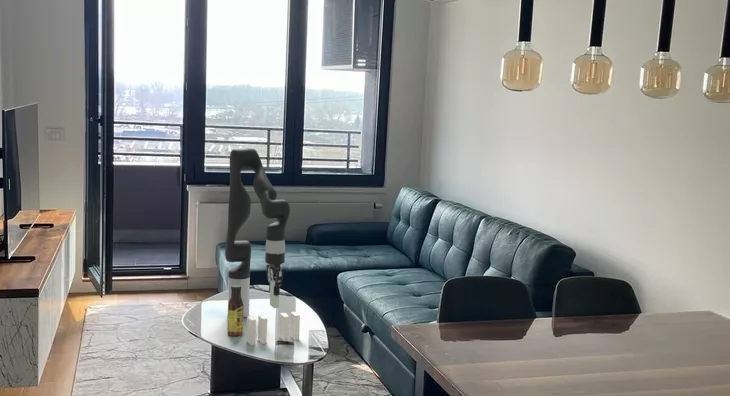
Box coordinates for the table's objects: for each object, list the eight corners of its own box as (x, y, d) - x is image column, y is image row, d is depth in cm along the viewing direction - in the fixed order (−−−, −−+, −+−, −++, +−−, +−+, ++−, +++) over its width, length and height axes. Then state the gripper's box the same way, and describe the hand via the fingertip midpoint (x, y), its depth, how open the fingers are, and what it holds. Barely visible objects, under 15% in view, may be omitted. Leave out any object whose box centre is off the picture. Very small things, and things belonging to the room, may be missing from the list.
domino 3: (269, 304, 273) (270, 280, 272) (274, 304, 274) (275, 279, 273) (273, 308, 269) (274, 283, 268) (278, 307, 270) (279, 282, 268)
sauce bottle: (239, 337, 275) (240, 288, 272) (224, 335, 276) (225, 287, 274) (245, 332, 281) (246, 284, 279) (231, 330, 283) (231, 283, 280)
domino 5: (290, 336, 279) (290, 312, 278) (294, 335, 280) (295, 311, 279) (294, 340, 275) (295, 315, 273) (299, 339, 275) (299, 315, 274)
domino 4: (279, 337, 277) (280, 313, 276) (284, 336, 278) (285, 312, 277) (283, 341, 273) (284, 316, 271) (288, 340, 273) (289, 316, 272)
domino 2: (257, 339, 273) (258, 315, 272) (262, 339, 274) (263, 314, 273) (261, 343, 269) (262, 319, 267) (266, 343, 270) (267, 318, 268)
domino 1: (246, 341, 271) (247, 316, 270) (251, 340, 272) (252, 316, 271) (250, 345, 267) (250, 320, 265) (255, 344, 268) (255, 319, 266)
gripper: (260, 247, 273) (259, 289, 276) (271, 255, 261) (270, 299, 263) (278, 246, 277) (277, 288, 279) (290, 254, 264) (289, 297, 266)
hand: (274, 293), depth 271 cm, fingers closed on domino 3, 5 cm apart
